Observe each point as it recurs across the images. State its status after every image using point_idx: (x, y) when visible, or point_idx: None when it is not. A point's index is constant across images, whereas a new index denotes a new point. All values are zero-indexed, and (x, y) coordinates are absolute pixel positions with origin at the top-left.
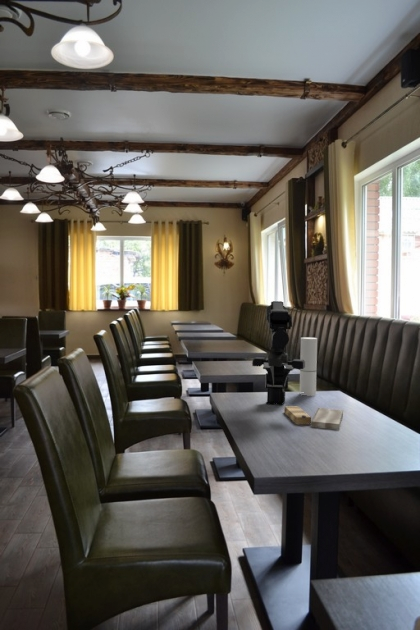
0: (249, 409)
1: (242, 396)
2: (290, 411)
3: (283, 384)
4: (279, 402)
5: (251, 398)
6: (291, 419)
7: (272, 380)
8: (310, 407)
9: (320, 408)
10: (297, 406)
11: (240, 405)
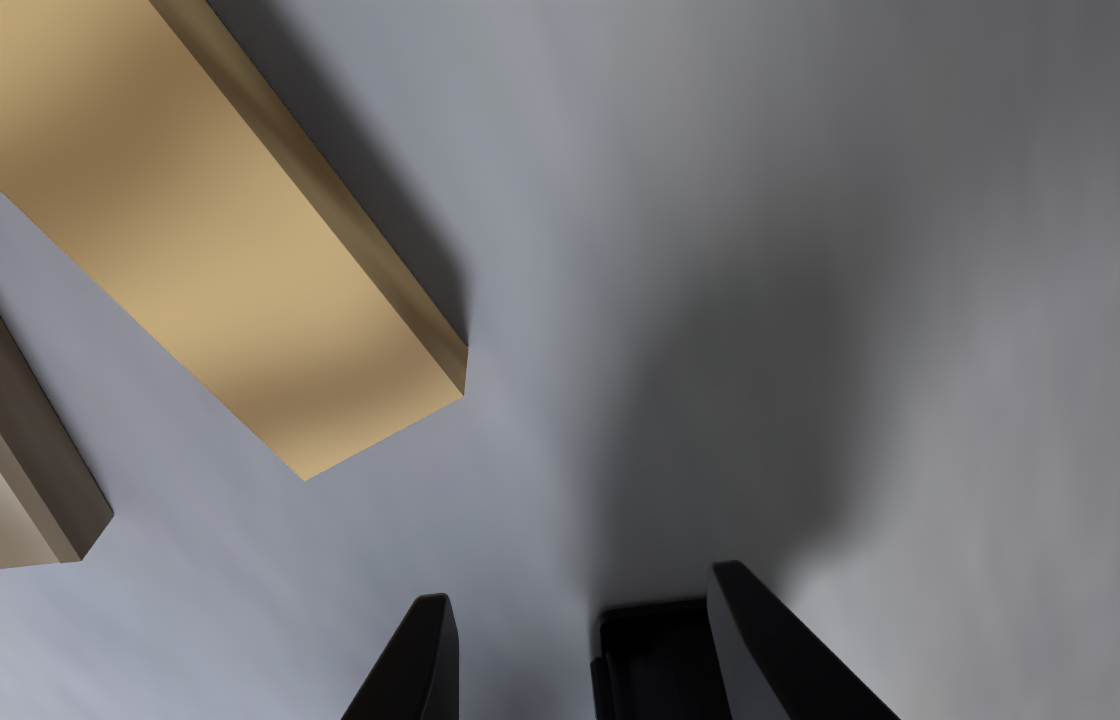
0: (938, 297)
1: (1026, 707)
2: (229, 108)
3: (411, 637)
4: (635, 642)
5: (937, 688)
6: (210, 7)
7: (783, 681)
8: (303, 656)
9: (42, 553)
10: (297, 464)
11: (1056, 422)
